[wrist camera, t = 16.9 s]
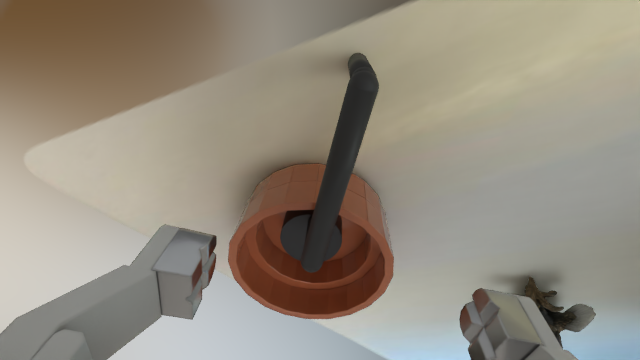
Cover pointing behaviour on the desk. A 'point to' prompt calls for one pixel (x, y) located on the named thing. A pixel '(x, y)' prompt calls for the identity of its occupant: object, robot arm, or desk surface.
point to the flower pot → (287, 273)
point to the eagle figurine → (558, 321)
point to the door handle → (333, 175)
